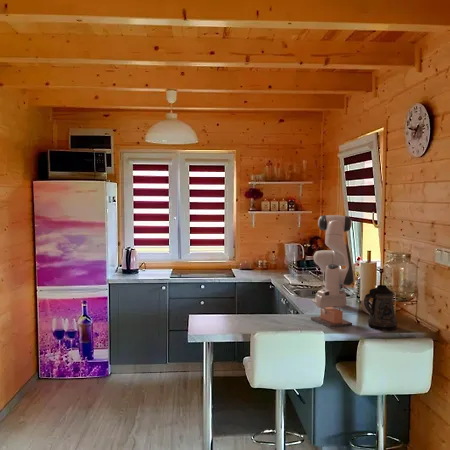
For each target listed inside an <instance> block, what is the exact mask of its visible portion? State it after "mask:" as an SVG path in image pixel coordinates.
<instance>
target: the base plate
mask: <svg viewBox="0 0 450 450" xmlns="http://www.w3.org/2000/svg"><path fill="white" fill-rule="evenodd" d="M320 317H321V315H320V316H312V317H310V321H313V322H315V321H316V323H317V322H318V324H320V325H322V324H323V325H322V326H324V325H325V327H327V326H328V328H329V327H335V328H341V326H343V327H350V326H351V327H352V326H353V323H352V322H350V321H348V320H346V319H344V318H342V323H332V322H329V321H327V320H325V319H322V318H320Z"/></svg>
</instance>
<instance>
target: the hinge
mask: <svg viewBox="0 0 450 450" xmlns="http://www.w3.org/2000/svg"><path fill="white" fill-rule="evenodd" d="M360 304H361V305H360V306H361V309H362V311H363V312H365V313H366V314H368V315H369V316H370V313H369V312H368V311H367V309H366V308H365V305H364V300H362V301H360ZM369 306H370V308H371V306H372V300H369Z"/></svg>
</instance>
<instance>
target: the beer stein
mask: <svg viewBox="0 0 450 450" xmlns="http://www.w3.org/2000/svg"><path fill="white" fill-rule="evenodd" d="M394 295H395V294H394V292H393V291H392V290H390V289H389V288H388V286H387V285H385V284H378V285H377V287H375V288H371V289H369V293H367V294H365V296H364V299H363V301H364V305H365V308H366V309H367V311H368V312H369V313H370V315H369V316H368V317H369V318H368V320H367V323H368V327H369V328H370V329H372V330H376V331H381V332H393V331H392V330H394V331H396V330H395V329H397V328H398V327H397V326H398V321H397V318H396V314H395V309H394V307H395V306H394V300H393V298H394ZM371 299H372V300H371ZM369 301H371V302H372V306H371V308H370V306H369Z"/></svg>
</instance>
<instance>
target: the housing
mask: <svg viewBox="0 0 450 450" xmlns="http://www.w3.org/2000/svg"><path fill="white" fill-rule="evenodd" d="M325 311H326V312H327V314H326V315H324V314H323V310H322V308H320V316H321V317H320V316H319V317H320V318H322V319H325V320H327V321H329V322H332V323H342V319H344V318H343V315H344V314H343V313H344V311H343V310H341V309H340V310H338V308H336V307H326V308H325Z"/></svg>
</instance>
